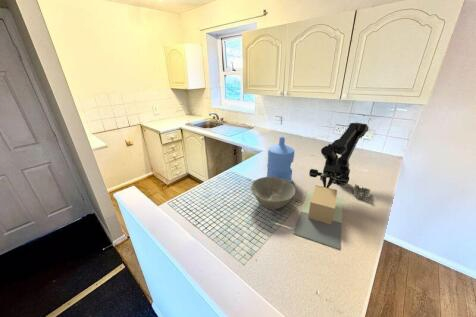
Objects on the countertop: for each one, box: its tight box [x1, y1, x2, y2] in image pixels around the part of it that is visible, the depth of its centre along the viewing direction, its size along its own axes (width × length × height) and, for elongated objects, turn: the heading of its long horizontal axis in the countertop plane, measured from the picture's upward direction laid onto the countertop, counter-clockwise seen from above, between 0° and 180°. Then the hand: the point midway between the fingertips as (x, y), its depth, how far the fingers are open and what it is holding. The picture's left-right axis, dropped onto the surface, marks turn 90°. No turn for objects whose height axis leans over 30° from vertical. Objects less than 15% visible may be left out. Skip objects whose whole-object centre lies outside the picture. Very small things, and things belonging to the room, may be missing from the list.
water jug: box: [266, 136, 295, 183], centre depth 119 cm, size 16×16×28 cm
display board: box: [292, 190, 344, 251], centre depth 93 cm, size 36×18×1 cm, turn 152°
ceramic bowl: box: [250, 176, 296, 210], centre depth 100 cm, size 22×23×10 cm
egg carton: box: [353, 183, 371, 202], centre depth 107 cm, size 11×8×4 cm
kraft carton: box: [308, 185, 338, 225], centre depth 93 cm, size 16×10×9 cm, turn 152°
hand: (325, 191), depth 99 cm, fingers closed
